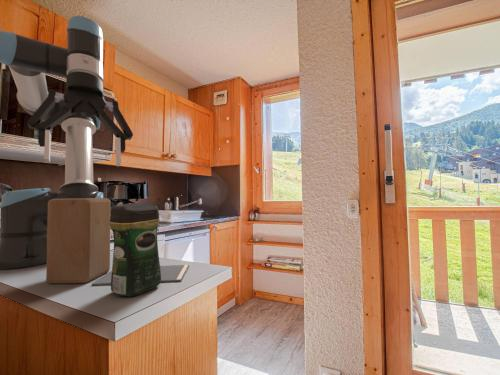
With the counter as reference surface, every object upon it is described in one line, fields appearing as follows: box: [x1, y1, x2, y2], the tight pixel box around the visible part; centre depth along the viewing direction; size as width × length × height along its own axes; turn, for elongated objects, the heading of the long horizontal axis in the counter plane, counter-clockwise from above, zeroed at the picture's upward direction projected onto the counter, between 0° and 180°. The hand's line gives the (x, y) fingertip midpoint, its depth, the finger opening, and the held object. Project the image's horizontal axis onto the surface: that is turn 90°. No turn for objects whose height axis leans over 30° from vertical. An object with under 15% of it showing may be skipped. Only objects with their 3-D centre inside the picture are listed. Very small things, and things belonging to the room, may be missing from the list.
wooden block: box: [45, 197, 112, 284], centre depth 62 cm, size 10×10×20 cm
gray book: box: [91, 264, 190, 287], centre depth 64 cm, size 13×20×1 cm, turn 96°
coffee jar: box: [110, 202, 162, 297], centre depth 53 cm, size 10×8×19 cm
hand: (85, 163), depth 57 cm, fingers open, 13 cm apart
